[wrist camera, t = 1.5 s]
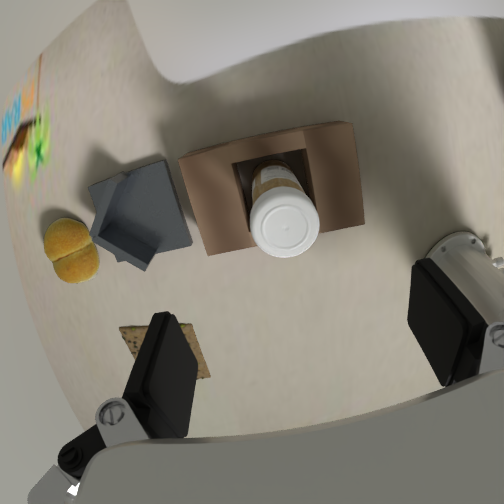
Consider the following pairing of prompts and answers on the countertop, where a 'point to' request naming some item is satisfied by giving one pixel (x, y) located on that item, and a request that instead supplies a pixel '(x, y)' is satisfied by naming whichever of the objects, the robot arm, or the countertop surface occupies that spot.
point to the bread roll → (71, 250)
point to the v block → (139, 215)
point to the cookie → (137, 334)
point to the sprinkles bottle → (281, 211)
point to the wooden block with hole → (227, 154)
